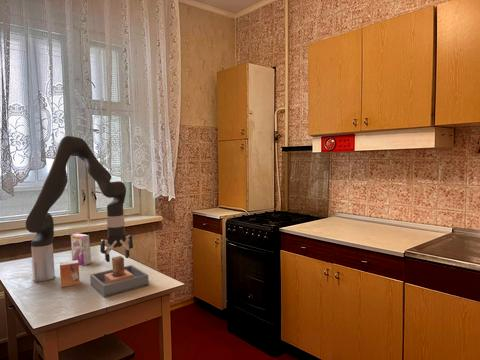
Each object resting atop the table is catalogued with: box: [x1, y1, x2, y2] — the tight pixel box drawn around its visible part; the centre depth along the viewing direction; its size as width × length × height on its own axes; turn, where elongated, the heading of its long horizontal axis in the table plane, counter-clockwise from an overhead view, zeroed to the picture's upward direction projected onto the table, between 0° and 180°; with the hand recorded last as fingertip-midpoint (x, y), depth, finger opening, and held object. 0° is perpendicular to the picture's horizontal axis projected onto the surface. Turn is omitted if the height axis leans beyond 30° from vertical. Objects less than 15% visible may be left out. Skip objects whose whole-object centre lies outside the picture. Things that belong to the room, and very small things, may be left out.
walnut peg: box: [111, 255, 125, 277], centre depth 159 cm, size 4×4×12 cm
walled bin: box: [89, 264, 150, 298], centre depth 159 cm, size 20×20×5 cm
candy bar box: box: [70, 233, 92, 266], centre depth 195 cm, size 11×5×16 cm, turn 58°
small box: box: [59, 260, 81, 288], centre depth 163 cm, size 8×6×10 cm
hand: (117, 259), depth 159 cm, fingers open, 8 cm apart
